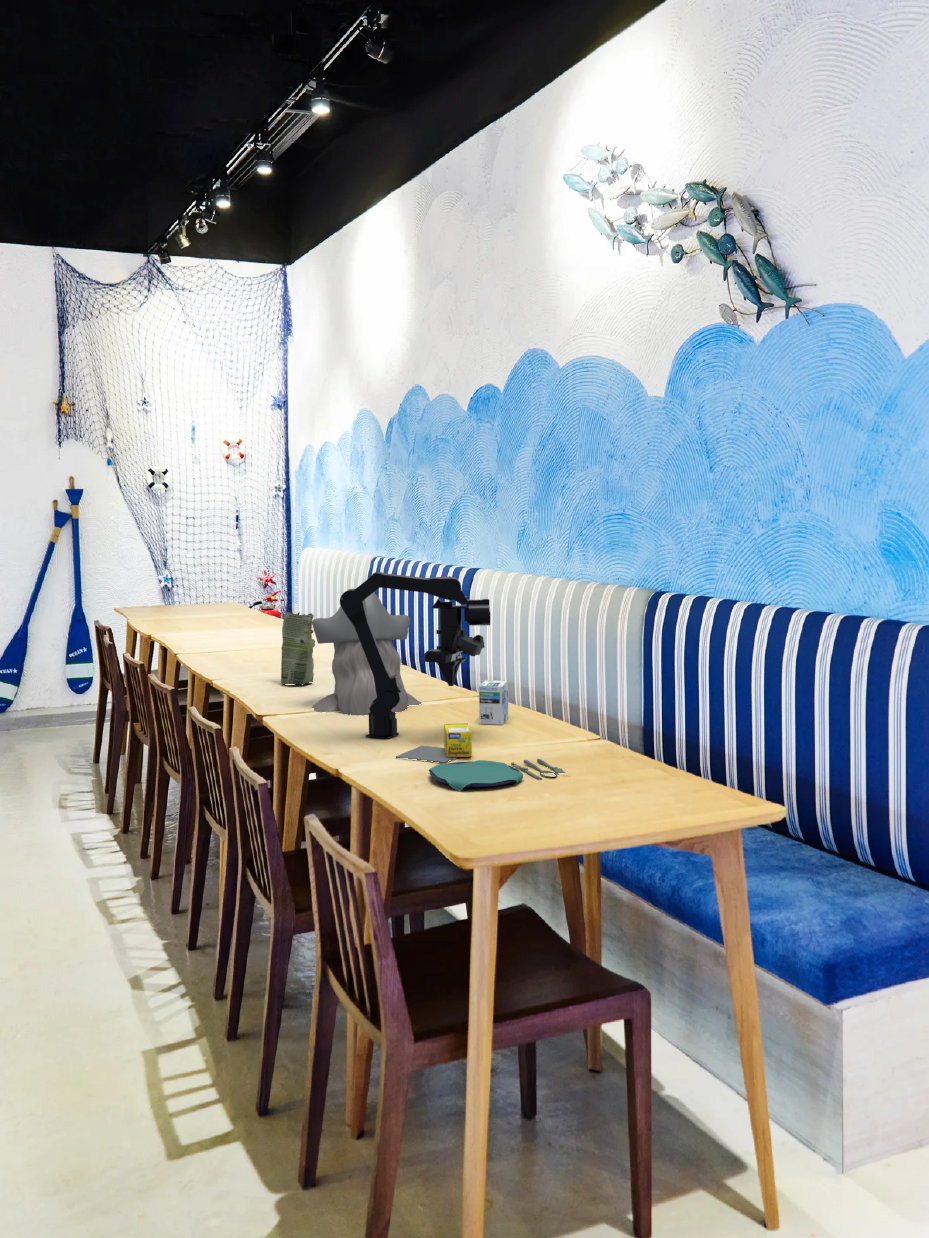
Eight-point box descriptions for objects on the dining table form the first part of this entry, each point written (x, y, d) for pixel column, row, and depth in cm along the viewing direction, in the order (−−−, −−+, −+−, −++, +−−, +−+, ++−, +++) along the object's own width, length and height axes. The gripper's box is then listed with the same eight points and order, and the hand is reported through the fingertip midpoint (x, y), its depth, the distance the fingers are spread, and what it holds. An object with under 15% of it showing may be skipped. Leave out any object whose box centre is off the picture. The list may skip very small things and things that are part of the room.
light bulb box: (502, 725, 279) (502, 686, 278) (478, 724, 280) (478, 685, 279) (509, 717, 289) (509, 680, 288) (485, 717, 291) (485, 679, 290)
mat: (395, 758, 241) (395, 756, 241) (421, 747, 253) (421, 745, 253) (444, 763, 236) (444, 762, 236) (469, 752, 247) (469, 750, 247)
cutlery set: (416, 773, 227) (416, 763, 227) (538, 763, 238) (538, 753, 238) (449, 797, 209) (449, 786, 209) (579, 784, 220) (580, 773, 220)
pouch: (282, 682, 355) (280, 610, 352) (317, 681, 356) (315, 609, 354) (279, 687, 344) (278, 613, 341) (315, 686, 345) (314, 612, 343)
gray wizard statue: (404, 693, 331) (403, 585, 328) (437, 711, 299) (436, 592, 296) (300, 700, 320) (297, 588, 316) (322, 720, 288) (320, 595, 285)
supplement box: (444, 747, 251) (446, 757, 240) (443, 723, 250) (446, 732, 239) (468, 747, 251) (472, 757, 240) (468, 723, 250) (471, 731, 240)
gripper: (462, 630, 251) (463, 693, 253) (494, 623, 268) (494, 682, 270) (422, 628, 256) (423, 690, 258) (456, 621, 273) (456, 680, 274)
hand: (451, 685), depth 265 cm, fingers closed
